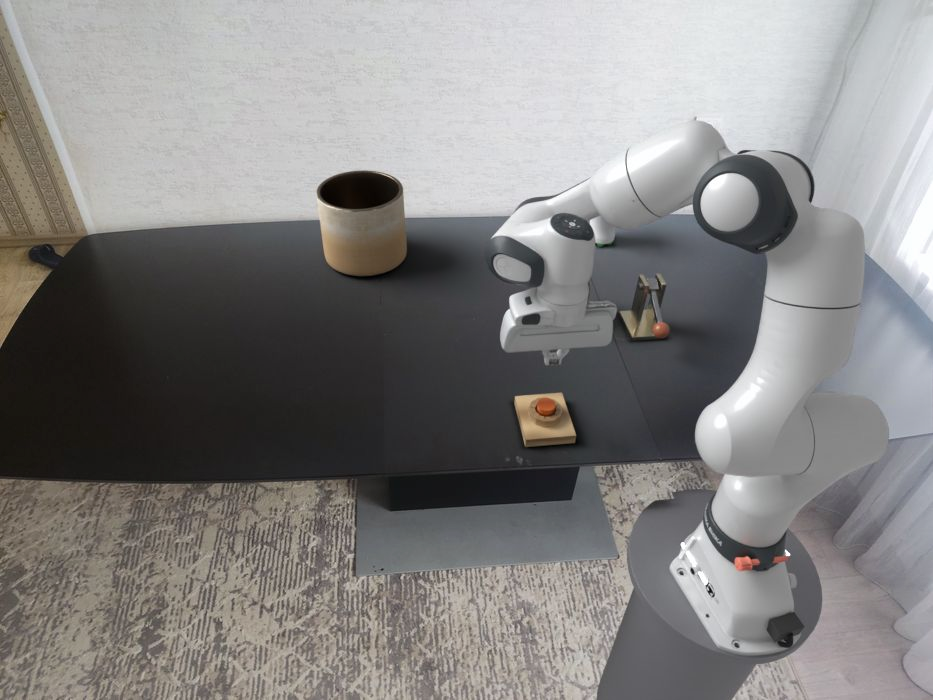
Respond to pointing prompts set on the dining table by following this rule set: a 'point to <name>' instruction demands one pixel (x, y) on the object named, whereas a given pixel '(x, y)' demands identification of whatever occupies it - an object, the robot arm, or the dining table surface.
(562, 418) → the button block
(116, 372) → the dining table surface
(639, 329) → the lever bracket
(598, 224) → the cup
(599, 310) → the robot arm
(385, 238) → the planter
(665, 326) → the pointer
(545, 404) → the button
